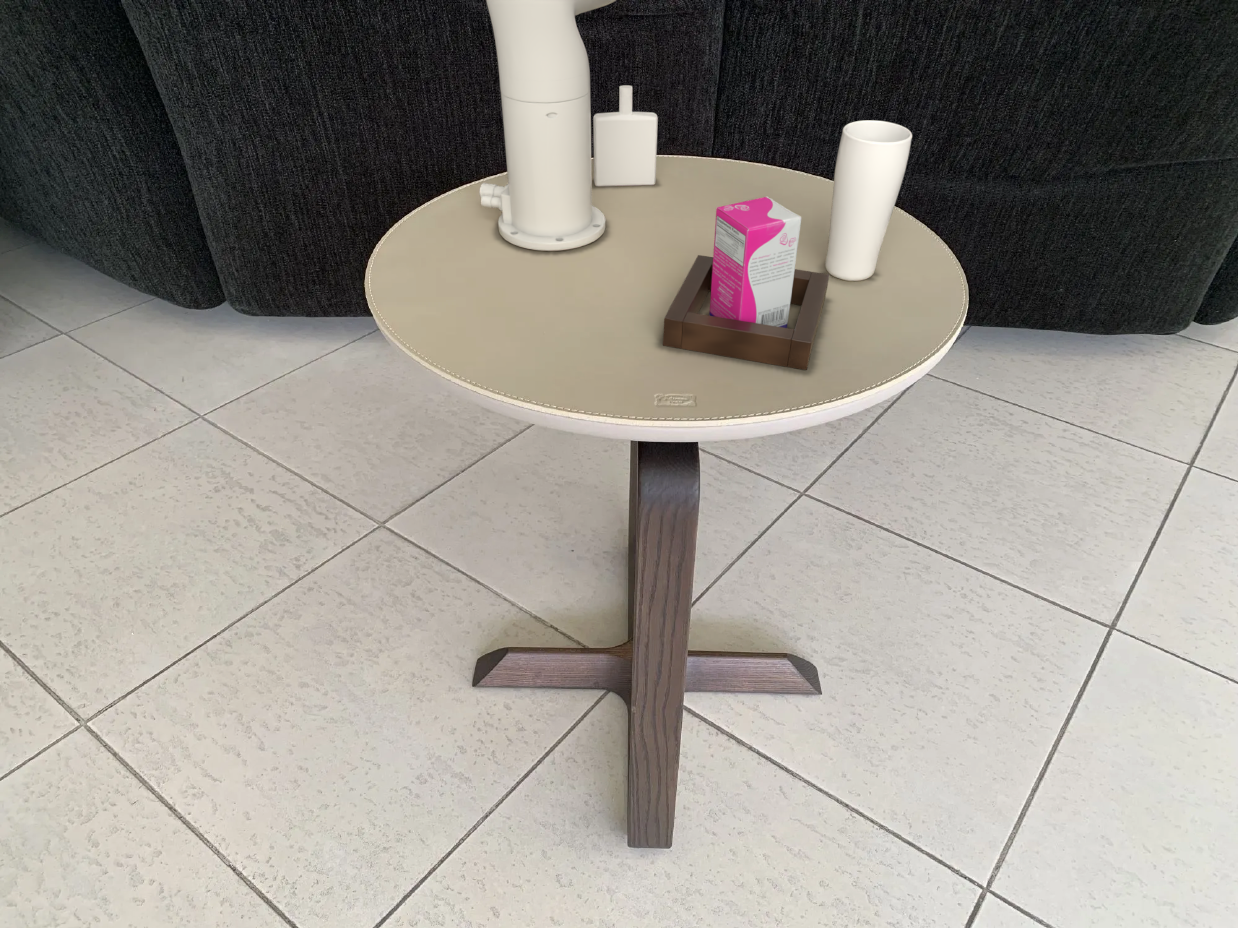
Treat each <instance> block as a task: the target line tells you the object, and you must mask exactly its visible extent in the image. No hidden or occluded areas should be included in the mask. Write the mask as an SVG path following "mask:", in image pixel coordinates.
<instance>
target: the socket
mask: <svg viewBox="0 0 1238 928" xmlns="http://www.w3.org/2000/svg"><path fill="white" fill-rule="evenodd" d="M712 269H713V256H707V255H701V254H698V255H697V257H696V258H695V260H694V262H693V264H692V266H691V268H690V269H689V271H688V273H687V275H686V277H685V279H684V281H683V282H682V285H681V286H680V288H679V290H678V292H677V294H676V296H675V297H674V299H673V301H672V303H671V305H670V306H669V308H668V310H667V312H666V314H665V316H664V318H663V334H662V335H663V336H662V337H663V338H662V346H663V347H669V348H675V349H680V350H687V351H693V352H698V353H703V354H710V355H715V356H722V357H727V358H732V359H739V360H744V361H750V362H755V363H762V364H768V365H774V366H778V367H785V368H791V369H797V370H804V371H807V370H808V368H809V367H808V366H809V363H810V359H811V355H812V351H813V347H814V344H815V339H816V336H817V331H818V328H819V325H820V320H821V317H822V312H823V309H824V305H825V300H826V296H827V290H828V285H829V280H830V273H824V272H816V271H809V270H803V269H797V268H795V271H794V279H793V286H792V294H791V302H790V305H791V304H792V305H797V306H800V309H799V313H798V317H797V319H796V323H795V326H794V328H789V327H787V328H783V327H777V326H770V325H764V324H758V323H752V322H746V321H740V320H734V319H727V318H721V317H715V316H710V314H703V313H700V311H701V308H702V307H703V304H704V302H705V300H706V298H707V296H708V294H709V292H711V284H712Z"/></svg>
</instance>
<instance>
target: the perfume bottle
mask: <svg viewBox="0 0 1238 928" xmlns="http://www.w3.org/2000/svg"><path fill="white" fill-rule="evenodd" d="M618 91H619V93H618V94H619V95H618V96H619V97H618V99H619V100H618V101H619V102H618V103H619V105H618V107H619V108H618V111H613V112H600V113H597V112H596V113H595V114H594V116H593V119H592V120H593V121H592V122H593V182H594V185H595V187H631V186H632V187H633V186H654V185H655V184H656V181H657V180H656V178H657V154H658V153H657V152H658V122H659V118H658V115H657V113H656V112H650V111H633V85H628V84H627V85H625V84H623V85H620V86H619V89H618Z"/></svg>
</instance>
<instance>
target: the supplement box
mask: <svg viewBox="0 0 1238 928" xmlns="http://www.w3.org/2000/svg"><path fill="white" fill-rule="evenodd" d="M715 210H716V211H715V226H714V238H713V239H714V240H713V241H714V242H713V255H712V257H713V269H712V284H711V291H710V302H709V313H708V315H709V316H715V317H721V318H727V319H734V320H740V321H746V322H752V323H758V324H764V325H770V326H777V327H783V328H788V324H789V318H790V310H791V304H790V302H791V294H792V286H793V279H794V271H795V269H796V263H797V255H798V248H799V240H800V232H801V226H802V224H801V223H802V216H801V215H799V214H797V213H795V212H793V211H792V210H790V209H788V208H786V207H785V206H783V205H782V204H780V203H778V202H777V201H775V200H774V199H773V198H770V197H769V196H763V197H759V198H753V199H749V200H744V201H739V202H735V203H730V204H726V205H722V206H717V207H716V209H715Z"/></svg>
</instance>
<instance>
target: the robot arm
mask: <svg viewBox="0 0 1238 928" xmlns="http://www.w3.org/2000/svg"><path fill="white" fill-rule="evenodd" d="M616 1H617V0H485V2H486V6H487V10H488V13H489V17H490V21H491V26H492V30H493V37H494V40H495V41H494V42H495V49H496V57H497V58H496V59H497V66H498V67H497V68H498V77H499V89H500V99H501V100H500V101H501V108H502V109H501V111H502V124H503V134H504V135H503V137H504V149H505V158H506V160H505V162H506V174H507V184H505V186H504V185H498V184H497V183H489V182H488V183H487V182H481V184H480V187H479V198H480V205H481V207H482V208H488V209H489V208H490V209H493V208H494V209H498V210H499V211H500V212H502V213H501V214H500V216H499V217H498V220H497V224H498V232H499V234H500V236H501V237H502V238H503V239H504V240H505V241H507V242H508V243H510V244H511V245H514V246H517V247H519V248H523V249H527V250H534V251H542V252H557V251H558V252H559V251H568V250H574V249H577V248H581V247H584V246H588V245H589V244H591V243H593V242H595V241H596V240H598V239H599V238H601V236H602V235H603V234H604V233H605V231H606V223H607V222H606V221H607V220H606V216H605V214H604V212H603V211H601V210H600V209H599V208H598V207H596V206H595V205H593V187H592V186H593V181H592V180H593V178H592V174H593V173H592V120H591V119H592V117H591V116H592V114H591V113H592V112H591V111H592V110H591V71H590V61H589V57H588V53H587V49H586V46H585V44H584V41H583V39H582V37H581V35H580V32H579V29H578V27H577V22H576V16H578V15H580V14H584V13H586V12H590V11H593V10H596V9H599V8H602V7H605V6H608V5H610V4H612V3H615V2H616ZM820 1H821V0H811V2H812V3H819V2H820Z"/></svg>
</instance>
